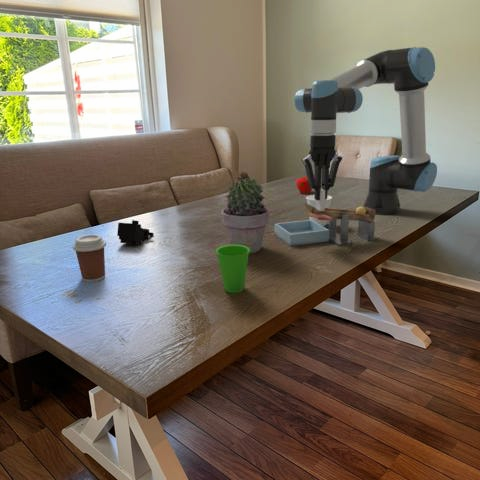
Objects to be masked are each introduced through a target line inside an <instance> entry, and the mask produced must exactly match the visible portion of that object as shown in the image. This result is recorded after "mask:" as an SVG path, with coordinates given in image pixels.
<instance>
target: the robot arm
mask: <svg viewBox="0 0 480 480" xmlns="http://www.w3.org/2000/svg"><path fill="white" fill-rule="evenodd" d="M435 72H436V62H435V57H434V54H433V53H432V51H431V50H430V49H429V48H427V47H424V46H423V47H422V46H421V47H419V46H418V47H416V46H414V47H405V48H397V49H388V50H383V51H380V52H377V53H375V54H374V55H373V54H372V55H370V56H369V57H367V58H365V59H362V60H361V61H359V62H358V63H357V64H356V65H355V66H354V67H353V68H351V69H349V70H346V71H345V72H342V73H340V74H339V75H337V76H334V77H332V78H330V79H326V80H325V79H324V80H314V81H313V83H312V84H311V85H312V87H310V88H307V87H305V88H301V89H299V90H298V91H296V93H295V96H294V100H293V102H294V107H295V108H296V110H298V112H300V113H306V114H308V113H310V114H311V117H310V134H311V135H310V143H309V145H310V146H309V147H310V150H309V152H308V155H307V156H305V157H303V158H301V161H302V163H303V165H304V167H305V174H306V177H307V179H308V184H309V187H310V188H312V190H314V195H315V197H314V198H315V200H317V208H316V209H317V210H319V211H325V200H326V199H327V195H328V191H330V189H331V188H333V187H334V186H335V182H336V177H337V173H338V170H339V167H340V163H341V162H342V161H343V156H340V155H338V154H337V152H336V149H335V148H336V135H335V134H336V133H337V114H340V113H341V114H345V113H348V114H350V113H352V112H356V111H358V110H359V109H360V108H361V107H362V104H363V100H364V99H363V98H364V96H363V94H362V92H361V90H360V89H361V88H363V87H365V88H369V87H371V86H374V85H379V84H380V85H381V84H383V85H384V84H385V85H386V84H388V85H390V84H393V85H394V86H393V88H394V92H396V93H397V94H398V99H399V100H398V101H399V115H400V117H399V118H400V131H401V132H400V133H401V134H400V135H401V151H402V154H401V156H400V155H385V156H378V157H374V158H371V160H370V166H369V181H368V193H367V196H366V198H365V200H364V201H365V202H364V203H363V207H368V208H370V209H373V210H375V211H376V212H375V215H394V214H398V213H400V211H401V203H400V199H399V196H398V189H399V190H405V191H412V192H421V193H423V192H424V193H425V192H427V191H429V190H430V189H431V188H432V187H433V185H434V183H435V181H436V178H437V175H438V165H437V164H436V163H434V162H433V161H432V162H431V155H430V154H429V153H428V152H427V144H426V143H427V142H426V140H427V139H426V136H427V135H426V113H425V112H426V111H425V110H426V109H425V106H426V105H425V104H426V103H425V90H426V89H427V88H428V86H429V82H431V81H432V79H433V78H434V76H435ZM312 162H313V166H312ZM331 162H332V163H331ZM313 167H314V169H313ZM313 170H314V171H313Z"/></svg>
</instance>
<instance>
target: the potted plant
mask: <svg viewBox="0 0 480 480" xmlns="http://www.w3.org/2000/svg"><path fill="white" fill-rule="evenodd" d="M238 175H239V177H237V181H236V182H235V183H233V184H231V185H230V186H228V187H226V189H227V188H228V190H227V191H226V190H225V191H223V192H228V193H229V194H226V196H224V198H227V199H225V200H224V201H225V202H224V203H223V205H224V204H225V203H226V206H227V207H224V208H223V209H222V210H221V219H222V224H223V226H224V227H225V230H226V233H227V237H228V240H229V245H243V246H247V247H248V248H249V249H250V252H249V255H250V254H255V253H257V252H259V251H260V250H261V249H262V244H263V241H264V236H265V233H266V232H265V231H266V227H267V225H268V224H269V219H270V218H269V217H270V210H269V208H268V207H266V206H265V204H264V201H263V200H264V199H265V200H267V201H271V202H272V200H270V199H268V198H266V197H265V196H263V195H262V194H261V193H264V194H265V195H267V193H266V192H264V191H263V189H264V188H263V187H262V184H257V180H256V179H255V178H253V179H251V178H250V177H249V175H248V173H246V172H245V171H241V172H239V174H238ZM221 198H223V197H221Z"/></svg>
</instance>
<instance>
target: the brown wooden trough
mask: <svg viewBox="0 0 480 480" xmlns="http://www.w3.org/2000/svg"><path fill="white" fill-rule="evenodd" d="M363 207H364V206H363ZM364 208H365V209H366V214H360V213H356V209H355V210H354V209H353V210H352V209H344V208H343V209H342V208H332V207H330V208H325V211H319V210H317V209H316V208H315V207H313V206H311V205H309V204H307V203H306V202H305V203H304V208H303V214H304V215H306V216H308V217H309V218H310V217H314V218H316V219H317V220H327V222H329V221H332V219H337V220H341V215H346V214H348V215H349V221H355V222H359V221H367V222H373V221H374V220H375V215H376V214H375V212H376V211H375V210H373V209H370V208H368V207H364ZM374 222H375V221H374Z"/></svg>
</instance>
